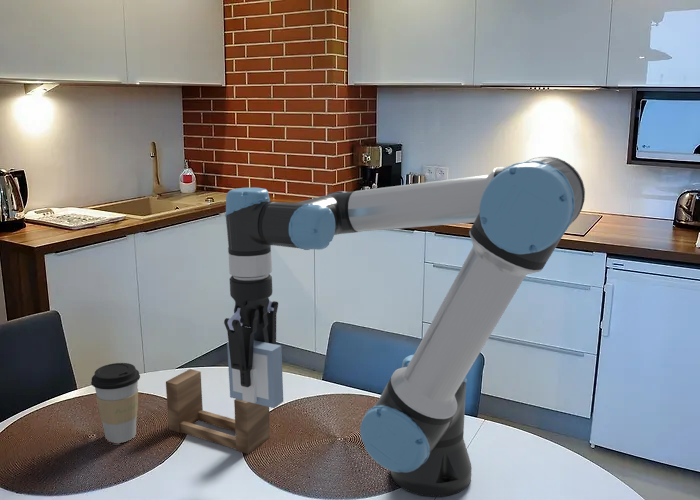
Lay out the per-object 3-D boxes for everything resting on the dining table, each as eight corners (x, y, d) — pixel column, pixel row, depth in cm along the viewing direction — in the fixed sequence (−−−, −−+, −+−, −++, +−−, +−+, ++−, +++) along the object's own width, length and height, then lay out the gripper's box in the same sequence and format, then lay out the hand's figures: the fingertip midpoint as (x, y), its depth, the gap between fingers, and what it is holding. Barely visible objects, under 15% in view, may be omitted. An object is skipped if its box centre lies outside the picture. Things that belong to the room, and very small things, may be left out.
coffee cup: (129, 451, 130) (123, 381, 126) (87, 446, 132) (80, 377, 128) (152, 428, 139) (147, 363, 135) (112, 424, 141) (107, 359, 137)
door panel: (283, 401, 120) (281, 345, 117) (273, 408, 117) (271, 351, 115) (240, 391, 124) (237, 337, 122) (229, 397, 122) (226, 342, 119)
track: (270, 437, 135) (268, 388, 133) (248, 454, 129) (246, 403, 126) (192, 414, 145) (190, 368, 142) (168, 429, 138) (165, 381, 136)
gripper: (260, 263, 124) (265, 377, 129) (203, 283, 110) (211, 410, 115) (293, 267, 121) (296, 384, 126) (239, 288, 107) (245, 419, 112)
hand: (256, 396), depth 120 cm, fingers closed on door panel, 3 cm apart
